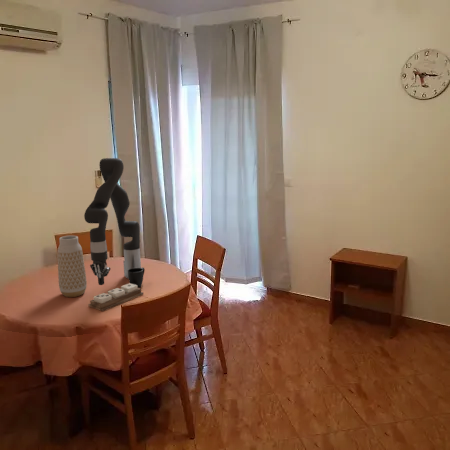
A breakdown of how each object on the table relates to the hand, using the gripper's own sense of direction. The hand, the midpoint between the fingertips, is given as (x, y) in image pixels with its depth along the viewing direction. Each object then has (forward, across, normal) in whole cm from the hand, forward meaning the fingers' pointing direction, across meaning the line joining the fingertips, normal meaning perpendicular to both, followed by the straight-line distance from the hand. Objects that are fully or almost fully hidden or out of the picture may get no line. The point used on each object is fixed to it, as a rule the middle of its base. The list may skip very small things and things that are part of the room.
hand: (101, 284), depth 204 cm
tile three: (+8, 0, 0) cm, 8 cm away
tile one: (+8, 0, +17) cm, 19 cm away
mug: (+11, -7, +30) cm, 32 cm away
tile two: (+8, 0, +9) cm, 12 cm away
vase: (+11, -26, +2) cm, 28 cm away
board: (+11, 0, +9) cm, 14 cm away
